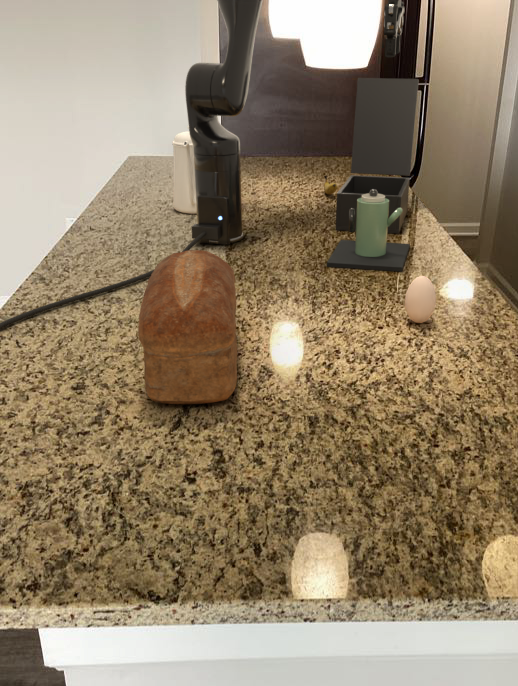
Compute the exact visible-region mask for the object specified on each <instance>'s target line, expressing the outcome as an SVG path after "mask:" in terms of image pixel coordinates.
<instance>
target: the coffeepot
mask: <svg viewBox="0 0 518 686" xmlns="http://www.w3.org/2000/svg"><path fill="white" fill-rule="evenodd" d="M187 129H188V130H189V124H188V125H187ZM172 146H173V149H172V150H173V151H172V152H173V155H172V156H173V157H172V158H173V162H172V163H173V165H172V166H173V167H172V168H173V171H172V172H173V173H172V174H173V175H172V176H173V177H172V178H173V179H172V180H173V181H172V182H173V183H172V190H173V191H172V205H173V208H174V210H175V211H177V212H179V213H181V214H182V213H183V214H189V215H190V214H191V215H197V207H196V188H195V170H194V151H193V144H192V141H191V138H190V134H189V131H181V132H178V133H177V134H176V135H175V136H174V138H173V140H172Z"/></svg>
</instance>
